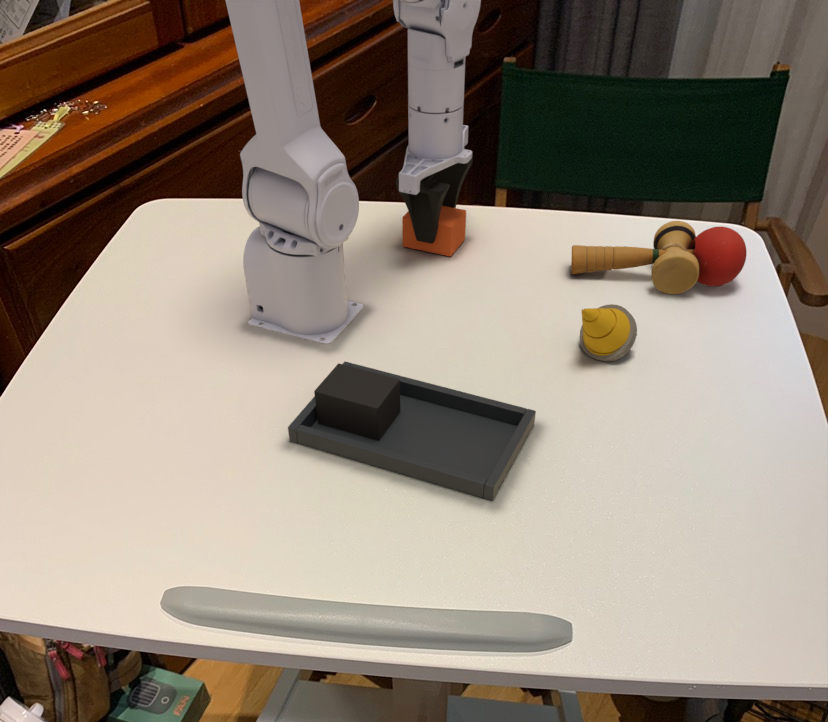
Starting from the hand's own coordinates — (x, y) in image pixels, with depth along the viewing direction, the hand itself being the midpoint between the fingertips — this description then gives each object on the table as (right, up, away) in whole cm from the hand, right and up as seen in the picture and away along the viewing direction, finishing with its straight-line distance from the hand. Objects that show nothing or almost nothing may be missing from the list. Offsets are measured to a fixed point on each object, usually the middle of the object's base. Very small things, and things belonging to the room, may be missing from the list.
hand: (434, 231), depth 94 cm
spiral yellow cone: (+16, -18, -15) cm, 28 cm away
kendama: (+24, -7, -4) cm, 25 cm away
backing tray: (-2, -27, -23) cm, 35 cm away
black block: (-7, -25, -21) cm, 34 cm away
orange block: (0, -1, +1) cm, 1 cm away
